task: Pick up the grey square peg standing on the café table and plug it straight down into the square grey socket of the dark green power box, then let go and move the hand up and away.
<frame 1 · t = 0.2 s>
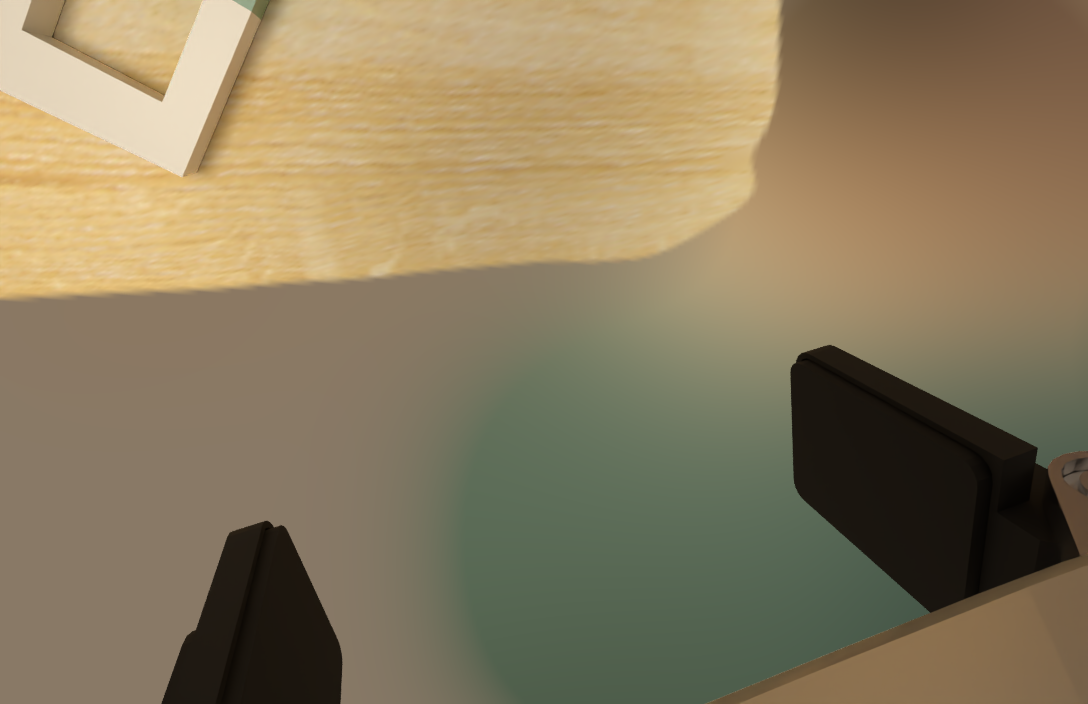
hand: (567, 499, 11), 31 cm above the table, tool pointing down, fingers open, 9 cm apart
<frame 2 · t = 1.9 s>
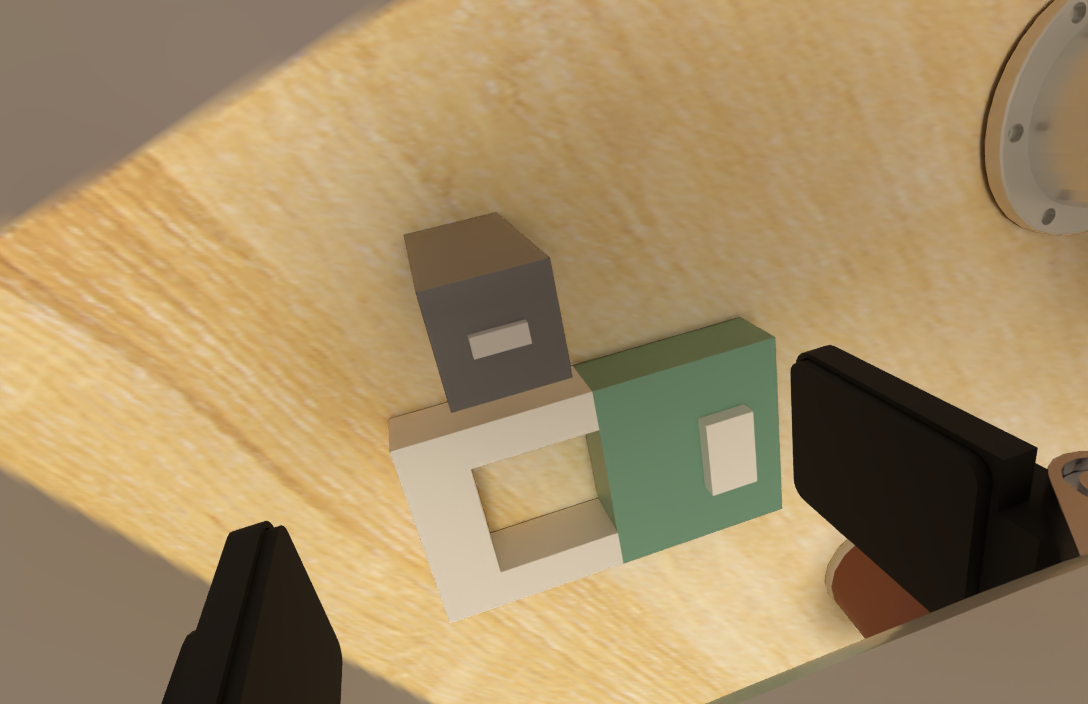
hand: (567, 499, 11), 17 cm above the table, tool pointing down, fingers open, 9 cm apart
grey square peg: (461, 268, 27), on the table
coffee cup: (865, 562, 40), on the table
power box: (589, 451, 32), on the table
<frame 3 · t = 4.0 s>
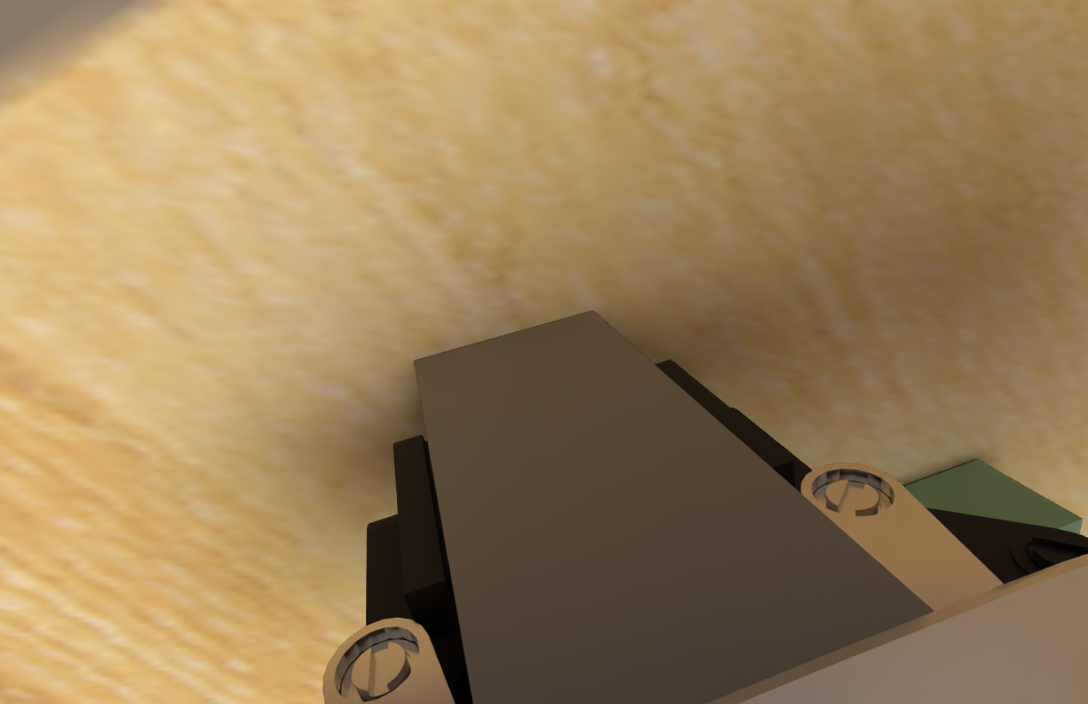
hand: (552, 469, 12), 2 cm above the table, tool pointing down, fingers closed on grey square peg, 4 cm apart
grey square peg: (524, 414, 14), on the table, touching gripper
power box: (720, 680, 19), on the table
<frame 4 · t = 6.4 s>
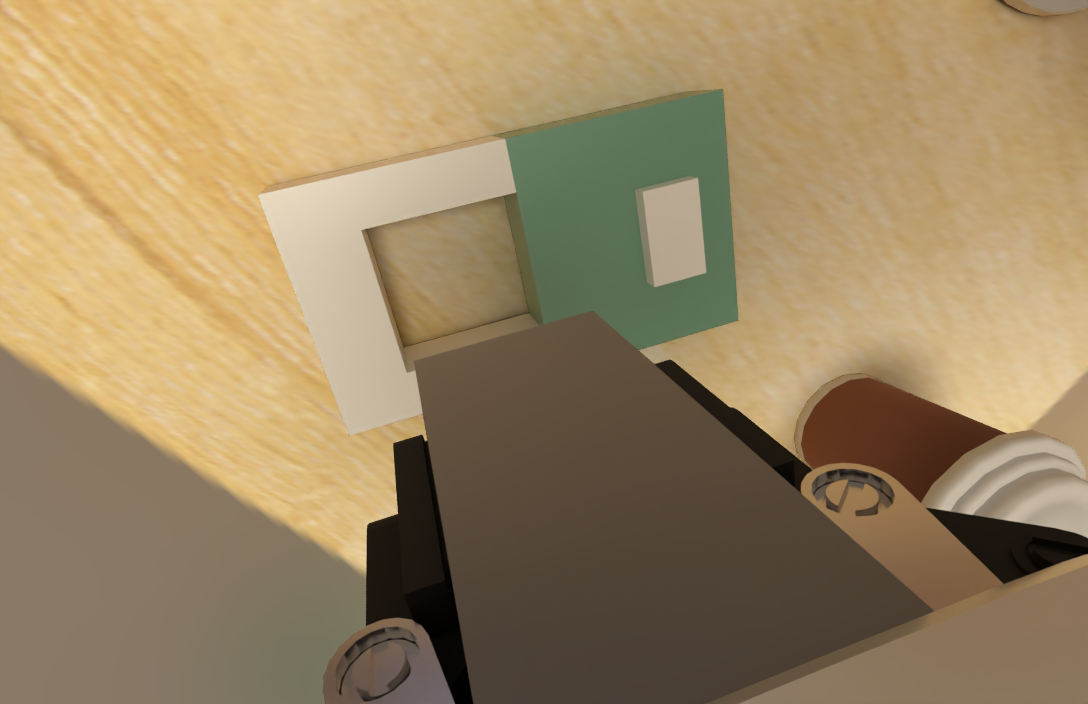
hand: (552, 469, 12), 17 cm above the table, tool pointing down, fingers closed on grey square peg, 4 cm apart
grey square peg: (524, 414, 14), point 15 cm above the table, touching gripper
coffee cup: (839, 421, 36), on the table
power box: (515, 251, 27), on the table
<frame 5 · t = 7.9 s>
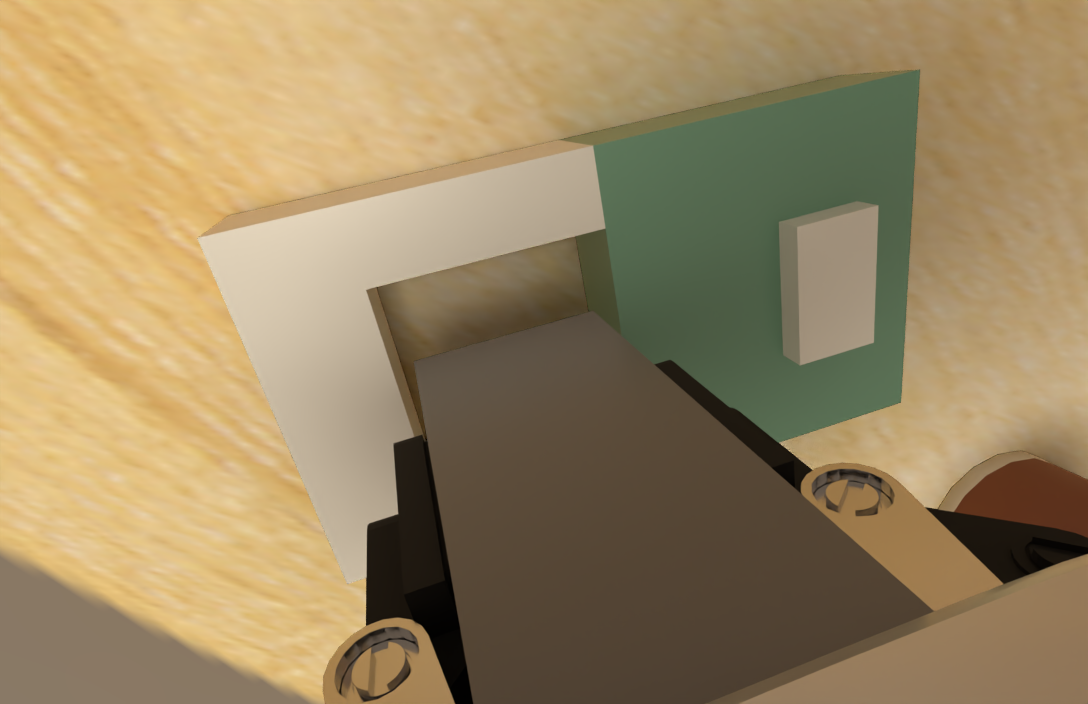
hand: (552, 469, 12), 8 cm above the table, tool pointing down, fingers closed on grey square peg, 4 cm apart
grey square peg: (524, 415, 14), point 5 cm above the table, touching gripper
coffee cup: (986, 510, 28), on the table
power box: (587, 305, 19), on the table
when the fingers open (4 cm above the table, at t = 9.0 s): grey square peg drops 2 cm, resting in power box.
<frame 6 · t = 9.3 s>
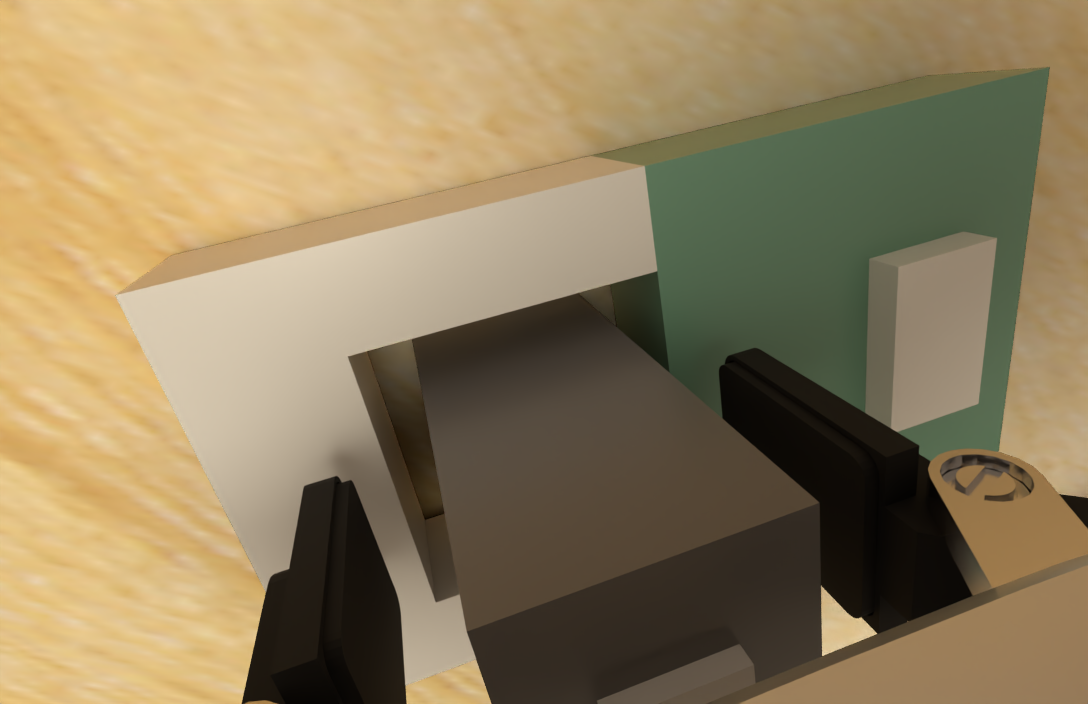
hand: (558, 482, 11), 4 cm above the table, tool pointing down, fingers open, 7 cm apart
grey square peg: (512, 385, 15), resting in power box
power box: (621, 354, 16), on the table
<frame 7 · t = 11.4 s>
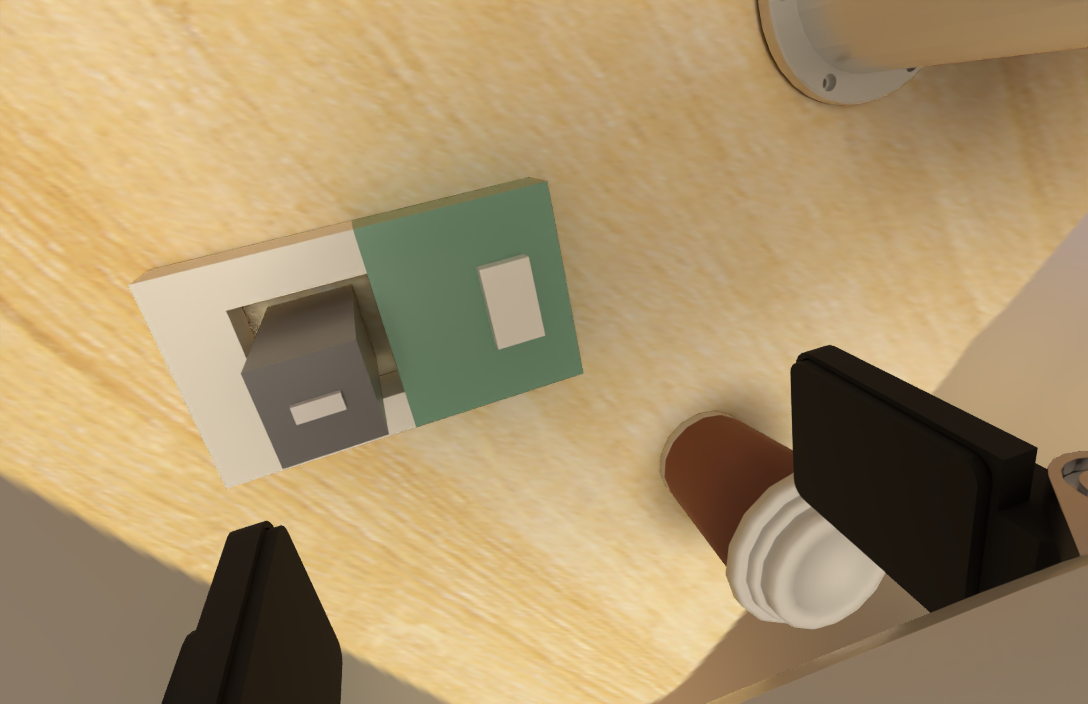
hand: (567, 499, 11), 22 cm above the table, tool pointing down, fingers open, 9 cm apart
grey square peg: (323, 333, 30), resting in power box
coffee cup: (701, 454, 41), on the table
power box: (382, 317, 31), on the table
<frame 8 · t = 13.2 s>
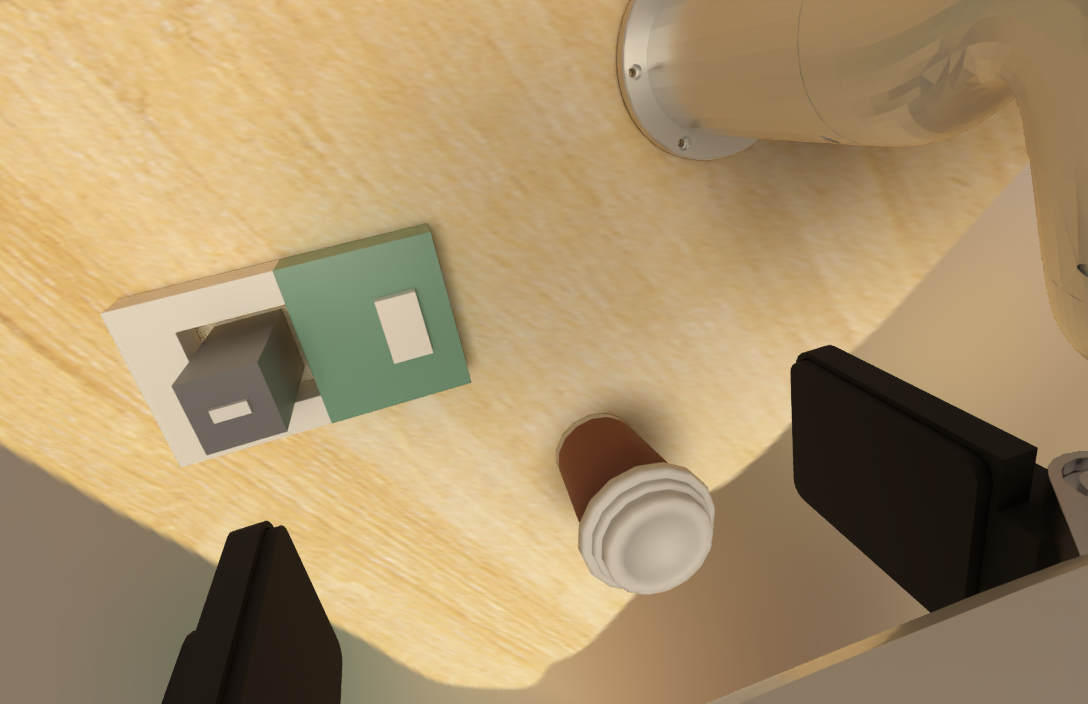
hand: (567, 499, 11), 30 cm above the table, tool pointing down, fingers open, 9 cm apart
grey square peg: (260, 346, 38), resting in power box
coffee cup: (594, 449, 48), on the table
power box: (308, 334, 39), on the table
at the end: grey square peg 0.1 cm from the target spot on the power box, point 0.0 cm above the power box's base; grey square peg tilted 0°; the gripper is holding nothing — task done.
